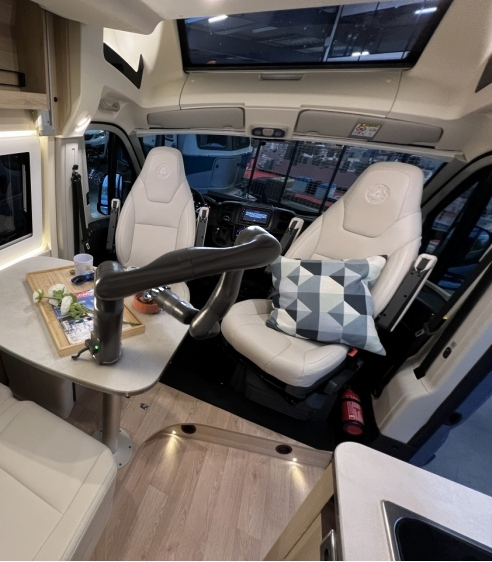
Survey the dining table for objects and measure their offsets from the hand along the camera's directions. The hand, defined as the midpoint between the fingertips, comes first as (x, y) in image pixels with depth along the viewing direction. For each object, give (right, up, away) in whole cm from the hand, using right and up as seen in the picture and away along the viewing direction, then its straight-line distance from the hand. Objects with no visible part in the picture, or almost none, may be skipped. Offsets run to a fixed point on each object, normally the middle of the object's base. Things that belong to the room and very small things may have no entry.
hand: (143, 282), depth 120 cm
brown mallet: (+1, -9, +3) cm, 10 cm away
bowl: (+2, -10, +3) cm, 11 cm away
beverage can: (-4, -4, +13) cm, 14 cm away
